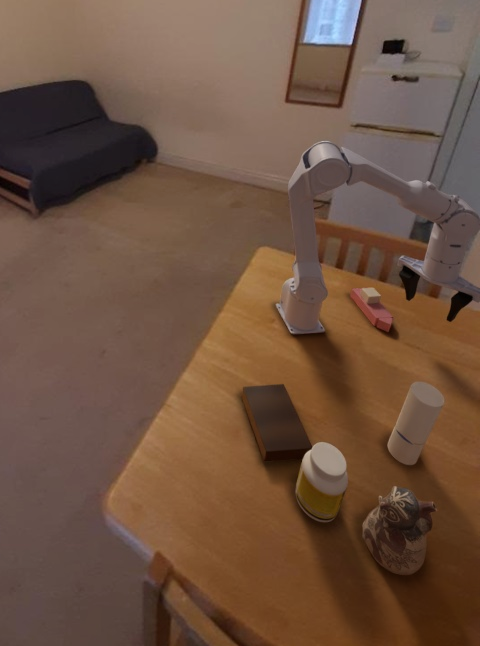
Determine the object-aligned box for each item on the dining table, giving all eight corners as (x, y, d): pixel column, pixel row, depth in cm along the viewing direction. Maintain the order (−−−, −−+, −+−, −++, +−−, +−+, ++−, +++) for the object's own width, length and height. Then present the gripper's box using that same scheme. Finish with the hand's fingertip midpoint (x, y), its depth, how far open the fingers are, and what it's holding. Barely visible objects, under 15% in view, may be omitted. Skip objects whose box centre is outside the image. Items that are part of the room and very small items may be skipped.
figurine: (361, 505, 62) (380, 459, 57) (416, 529, 59) (441, 484, 54) (363, 559, 57) (384, 513, 51) (424, 588, 54) (452, 544, 48)
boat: (349, 296, 103) (353, 281, 101) (365, 295, 103) (369, 280, 101) (379, 333, 92) (384, 317, 90) (396, 331, 92) (402, 316, 90)
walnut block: (241, 396, 79) (242, 386, 78) (281, 393, 80) (283, 383, 78) (264, 462, 69) (266, 451, 67) (310, 458, 69) (313, 448, 67)
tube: (413, 443, 70) (439, 385, 64) (420, 468, 67) (448, 410, 60) (384, 435, 72) (407, 378, 65) (390, 460, 68) (415, 402, 61)
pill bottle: (342, 528, 60) (359, 486, 55) (298, 519, 61) (310, 477, 56) (331, 482, 65) (345, 440, 61) (291, 474, 67) (301, 433, 62)
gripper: (499, 265, 76) (480, 320, 81) (414, 233, 87) (403, 282, 93) (482, 281, 73) (463, 336, 78) (396, 245, 84) (386, 295, 90)
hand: (429, 308), depth 85 cm, fingers open, 7 cm apart
